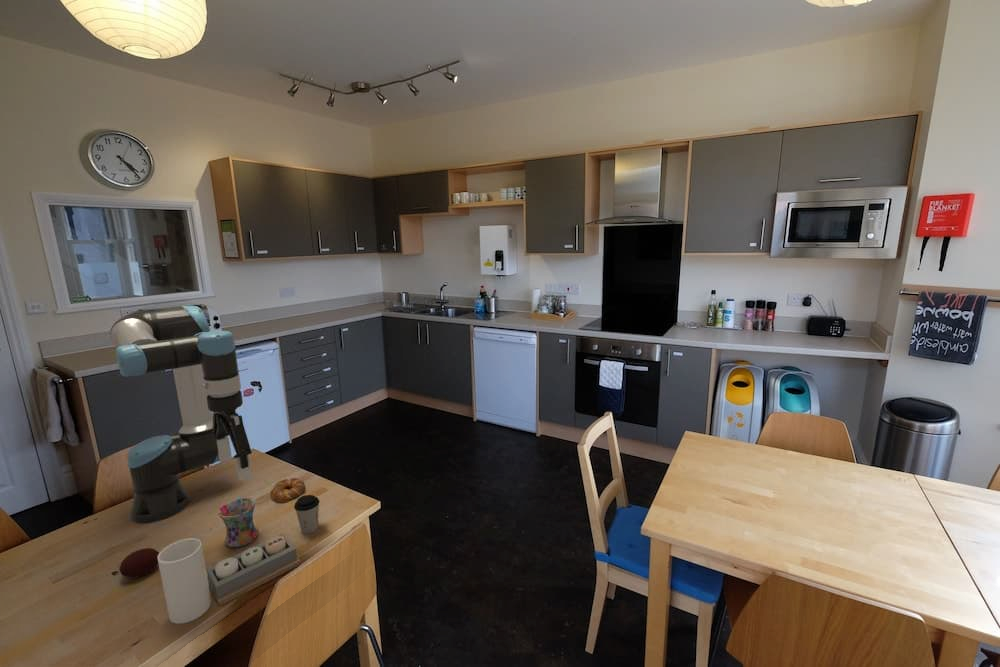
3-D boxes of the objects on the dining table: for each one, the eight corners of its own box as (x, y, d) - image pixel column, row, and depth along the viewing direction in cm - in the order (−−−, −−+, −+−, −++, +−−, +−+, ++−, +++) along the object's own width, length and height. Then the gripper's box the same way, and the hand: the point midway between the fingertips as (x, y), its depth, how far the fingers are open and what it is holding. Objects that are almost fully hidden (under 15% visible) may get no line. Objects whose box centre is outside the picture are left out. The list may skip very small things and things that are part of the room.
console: (206, 580, 113) (203, 565, 113) (283, 543, 127) (281, 530, 126) (219, 606, 105) (217, 591, 104) (300, 564, 118) (298, 550, 118)
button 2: (240, 563, 115) (238, 552, 115) (259, 554, 119) (258, 543, 118) (246, 573, 112) (244, 561, 111) (266, 563, 115) (264, 552, 115)
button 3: (263, 552, 119) (262, 541, 119) (282, 543, 123) (281, 533, 122) (270, 561, 116) (268, 550, 115) (289, 552, 120) (287, 541, 119)
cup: (183, 596, 108) (172, 539, 105) (218, 594, 109) (208, 536, 106) (161, 625, 100) (148, 563, 97) (199, 622, 101) (187, 561, 98)
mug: (256, 546, 126) (251, 513, 124) (219, 553, 123) (213, 519, 121) (264, 521, 137) (260, 490, 135) (230, 527, 134) (225, 496, 132)
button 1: (214, 575, 111) (212, 564, 111) (235, 565, 115) (234, 554, 114) (219, 585, 108) (217, 574, 107) (241, 575, 111) (239, 563, 111)
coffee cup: (327, 525, 135) (324, 496, 133) (309, 539, 128) (305, 508, 126) (310, 519, 138) (307, 490, 135) (291, 533, 131) (288, 502, 129)
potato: (122, 570, 117) (118, 550, 116) (161, 557, 122) (157, 538, 121) (120, 587, 111) (116, 566, 110) (161, 572, 116) (158, 552, 115)
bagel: (295, 504, 146) (294, 494, 146) (263, 504, 147) (261, 494, 146) (311, 484, 158) (310, 475, 157) (281, 484, 158) (279, 475, 157)
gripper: (191, 385, 117) (203, 459, 121) (224, 409, 101) (237, 492, 105) (223, 378, 122) (233, 449, 127) (259, 400, 106) (269, 480, 111)
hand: (235, 469), depth 116 cm, fingers open, 13 cm apart
